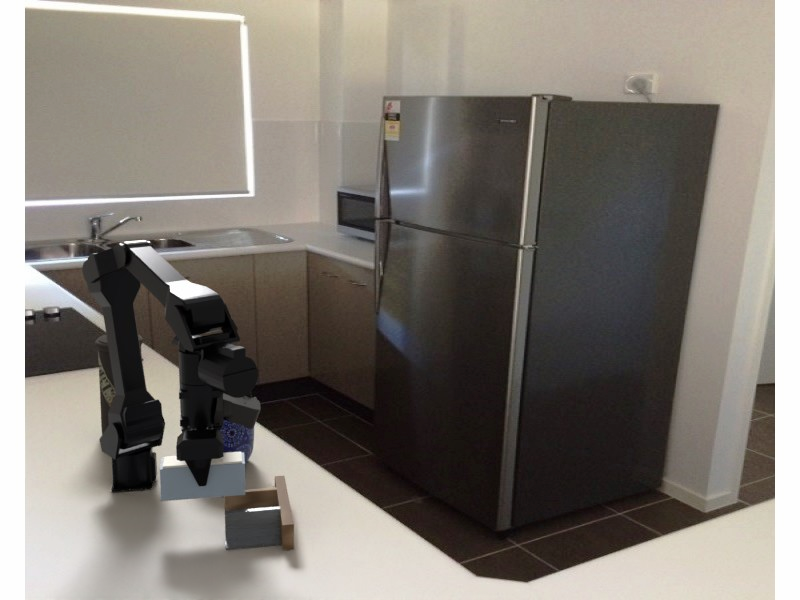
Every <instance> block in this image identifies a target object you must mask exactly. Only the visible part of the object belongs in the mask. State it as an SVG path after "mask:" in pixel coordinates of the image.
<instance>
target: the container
mask: <svg viewBox="0 0 800 600" xmlns="http://www.w3.org/2000/svg"><path fill="white" fill-rule="evenodd" d="M138 337H139V343H140V350H141V351H142V344H143V343H144V340H143V339H144V338H143V337H142V336H141V335H140V334H138ZM94 345H95V347H96V349H97V359H98V360H97V361H98V378H99V400H100V423H101V425H100V426H101V436H102V435H103V433H104V432H105V430H106V429H107V427H108V425H109V420H108V411H109V409H110V406H111V404H112V402H113V399H114V397H115V387H114V380H113V374H112V367H111V361H110V354H109V348H108V342H107V335H106V333H105V334H103V335H101V336H99V337H98V338H97V339H96V340H95V342H94ZM141 356H142V352H141ZM142 357H143V356H142Z"/></svg>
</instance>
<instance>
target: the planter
mask: <svg viewBox="0 0 800 600" xmlns="http://www.w3.org/2000/svg"><path fill="white" fill-rule="evenodd" d="M219 432H221V433H222V434H223V453H227V452H241V453H243V452H244V458H245V464H247V462H248V461H249V460H250V458H251V456H252V454H253V451H254V443H255V427H254V428H253V429H248V428H245V427H244V426H242V425H238V424H235V423H231V422H228V421H226V420H224V419H223V425H222V429H221V430H220V431H219Z"/></svg>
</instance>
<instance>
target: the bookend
mask: <svg viewBox="0 0 800 600" xmlns="http://www.w3.org/2000/svg"><path fill="white" fill-rule="evenodd" d="M224 525H225V527H224V528H225V529H224V531H225V532H224V533H225V535H224V536H225V550H226V551H230V550H232V551H233V550H240V549H241V550H242V549H243V550H244V549H251V548H263V547H274V546H282V540H281V530H280V506H277V507H265V508H253V509H242V510H230V511H225V510H224Z"/></svg>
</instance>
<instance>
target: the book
mask: <svg viewBox="0 0 800 600" xmlns="http://www.w3.org/2000/svg"><path fill="white" fill-rule="evenodd" d="M159 482H160V486H159V487H160V502H168V501H169V502H170V501H183V500H194V499H195V500H196V499H209V498H221V497H225V496H236V495H245V490H246V463H245V458H244V452H243V453H241V452H227V453H224V457H221V458H219V459H212V461H211V465H210V470H209V475H208V480H207V485H206V486H198V484H197V482H196V480H195V478H194V476H193V475H192V473H191V471H190V469H189V467H188V466H187V464H186V462H185V461H179V460H177V455H170V456H169V455H168V456H164V457H161V461H160V466H159Z"/></svg>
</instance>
